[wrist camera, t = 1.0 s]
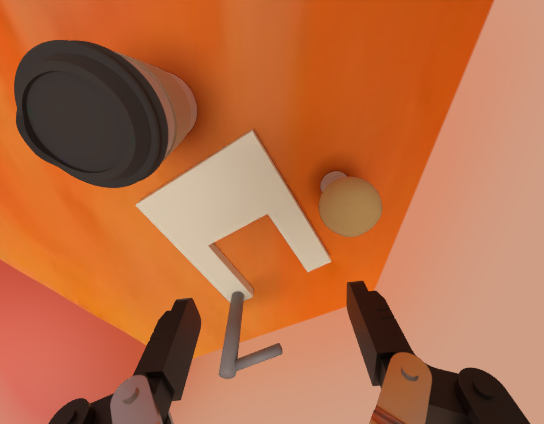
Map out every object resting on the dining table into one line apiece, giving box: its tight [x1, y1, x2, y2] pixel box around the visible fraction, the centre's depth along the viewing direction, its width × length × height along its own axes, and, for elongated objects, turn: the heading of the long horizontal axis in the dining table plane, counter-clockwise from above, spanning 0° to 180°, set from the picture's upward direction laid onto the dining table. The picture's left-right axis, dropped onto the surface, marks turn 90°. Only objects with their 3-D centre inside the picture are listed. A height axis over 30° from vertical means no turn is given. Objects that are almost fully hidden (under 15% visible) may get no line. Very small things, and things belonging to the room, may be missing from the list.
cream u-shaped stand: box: [136, 129, 332, 379], centre depth 29 cm, size 18×22×14 cm
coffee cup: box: [14, 40, 197, 188], centre depth 21 cm, size 9×9×15 cm
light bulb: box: [319, 171, 382, 237], centre depth 28 cm, size 6×6×10 cm
